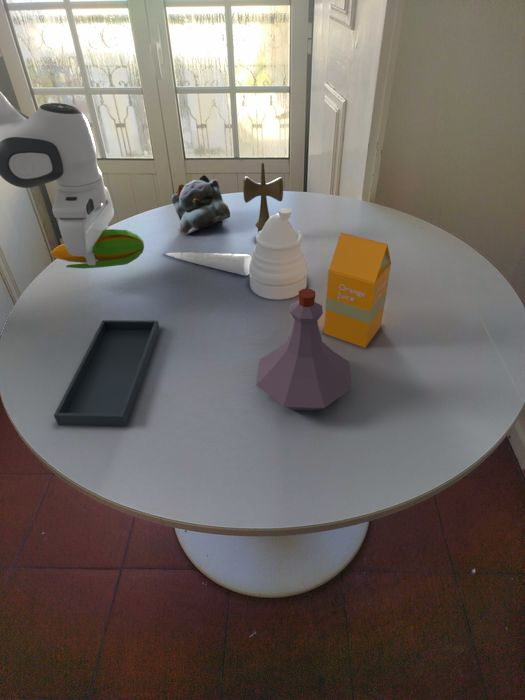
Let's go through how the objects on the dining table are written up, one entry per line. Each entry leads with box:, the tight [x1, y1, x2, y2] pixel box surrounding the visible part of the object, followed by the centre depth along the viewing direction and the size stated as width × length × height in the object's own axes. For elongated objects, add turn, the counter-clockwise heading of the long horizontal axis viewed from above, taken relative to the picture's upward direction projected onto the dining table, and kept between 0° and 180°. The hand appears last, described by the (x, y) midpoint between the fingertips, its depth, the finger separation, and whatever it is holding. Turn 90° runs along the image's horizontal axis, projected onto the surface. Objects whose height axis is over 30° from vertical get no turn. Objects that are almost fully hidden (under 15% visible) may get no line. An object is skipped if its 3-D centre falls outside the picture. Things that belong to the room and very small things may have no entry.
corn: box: [50, 228, 145, 269], centre depth 103 cm, size 7×8×20 cm
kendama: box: [242, 162, 284, 242], centre depth 116 cm, size 6×10×20 cm, turn 87°
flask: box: [256, 288, 353, 411], centre depth 74 cm, size 16×16×20 cm
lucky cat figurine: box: [170, 174, 231, 235], centre depth 127 cm, size 15×12×14 cm
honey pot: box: [248, 207, 308, 300], centre depth 100 cm, size 13×13×18 cm
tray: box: [53, 319, 161, 428], centre depth 84 cm, size 11×25×3 cm, turn 177°
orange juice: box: [323, 232, 392, 349], centre depth 86 cm, size 8×9×20 cm
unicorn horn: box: [165, 251, 252, 277], centre depth 113 cm, size 5×24×5 cm, turn 61°
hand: (99, 254), depth 103 cm, fingers closed on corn, 7 cm apart
